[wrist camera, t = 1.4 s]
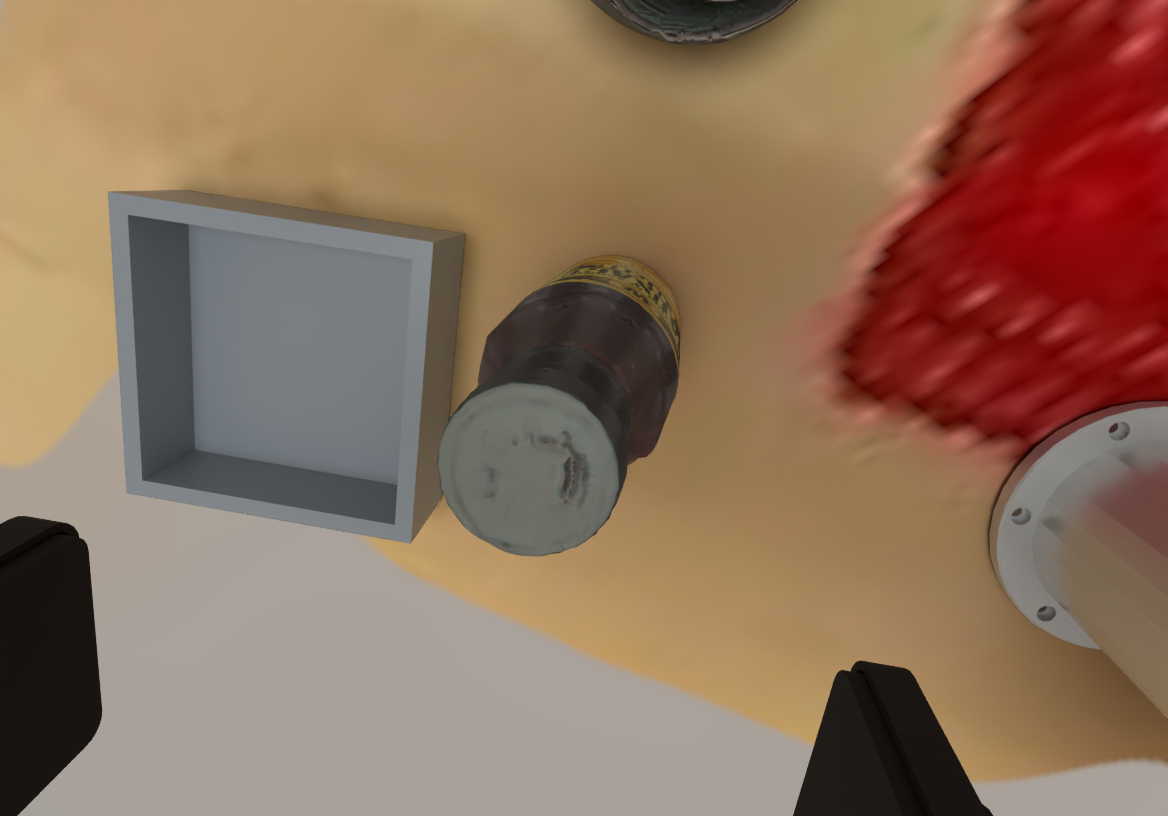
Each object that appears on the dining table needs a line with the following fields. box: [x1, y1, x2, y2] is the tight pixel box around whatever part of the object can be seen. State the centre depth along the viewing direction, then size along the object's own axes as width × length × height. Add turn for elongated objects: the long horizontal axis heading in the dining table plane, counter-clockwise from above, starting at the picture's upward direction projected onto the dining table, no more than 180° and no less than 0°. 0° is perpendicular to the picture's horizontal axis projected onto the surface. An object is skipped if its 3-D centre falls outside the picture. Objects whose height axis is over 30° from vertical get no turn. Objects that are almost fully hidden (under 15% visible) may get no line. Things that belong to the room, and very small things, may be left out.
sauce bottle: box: [437, 256, 680, 556], centre depth 25 cm, size 7×6×20 cm
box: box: [108, 190, 465, 543], centre depth 34 cm, size 14×14×5 cm
